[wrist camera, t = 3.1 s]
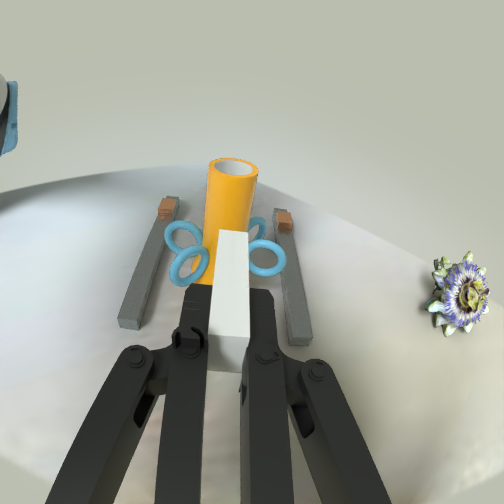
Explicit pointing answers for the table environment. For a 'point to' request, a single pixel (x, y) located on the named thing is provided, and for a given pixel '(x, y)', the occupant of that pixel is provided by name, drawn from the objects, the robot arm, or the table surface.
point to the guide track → (153, 250)
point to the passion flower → (458, 295)
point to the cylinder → (222, 223)
